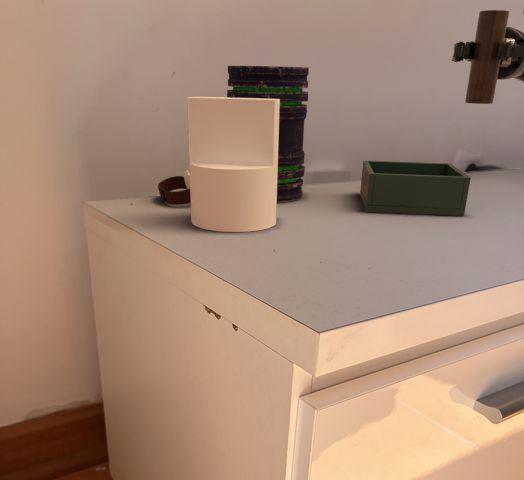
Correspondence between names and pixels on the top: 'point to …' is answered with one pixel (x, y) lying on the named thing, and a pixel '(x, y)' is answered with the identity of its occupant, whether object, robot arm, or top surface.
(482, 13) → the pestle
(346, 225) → the top surface
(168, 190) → the watch
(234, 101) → the cylinder with rectangular tab
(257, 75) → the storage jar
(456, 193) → the bin
